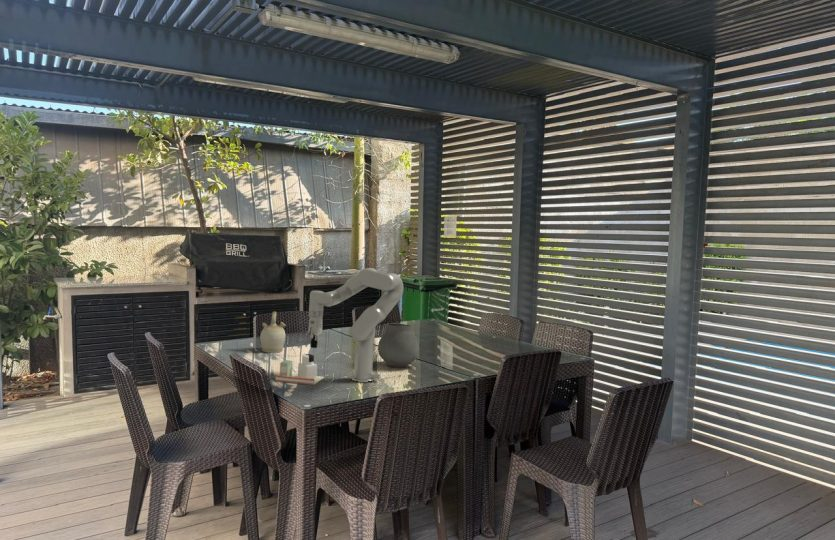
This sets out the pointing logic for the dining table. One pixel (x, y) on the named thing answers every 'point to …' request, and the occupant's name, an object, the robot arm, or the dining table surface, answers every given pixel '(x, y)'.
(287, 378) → the cream flat block
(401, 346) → the ceramic pot
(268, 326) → the jug
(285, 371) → the tea box
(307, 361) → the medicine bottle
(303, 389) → the dining table surface
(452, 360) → the dining table surface
